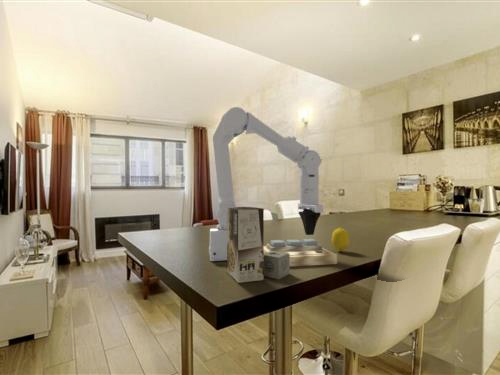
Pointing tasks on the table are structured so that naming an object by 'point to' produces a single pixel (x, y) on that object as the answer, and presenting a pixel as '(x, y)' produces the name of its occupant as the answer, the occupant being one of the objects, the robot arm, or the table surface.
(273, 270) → the dice cube
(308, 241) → the button right
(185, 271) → the table surface
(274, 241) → the button left
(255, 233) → the coffee box
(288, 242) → the button middle
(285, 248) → the button board
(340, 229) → the lemon
